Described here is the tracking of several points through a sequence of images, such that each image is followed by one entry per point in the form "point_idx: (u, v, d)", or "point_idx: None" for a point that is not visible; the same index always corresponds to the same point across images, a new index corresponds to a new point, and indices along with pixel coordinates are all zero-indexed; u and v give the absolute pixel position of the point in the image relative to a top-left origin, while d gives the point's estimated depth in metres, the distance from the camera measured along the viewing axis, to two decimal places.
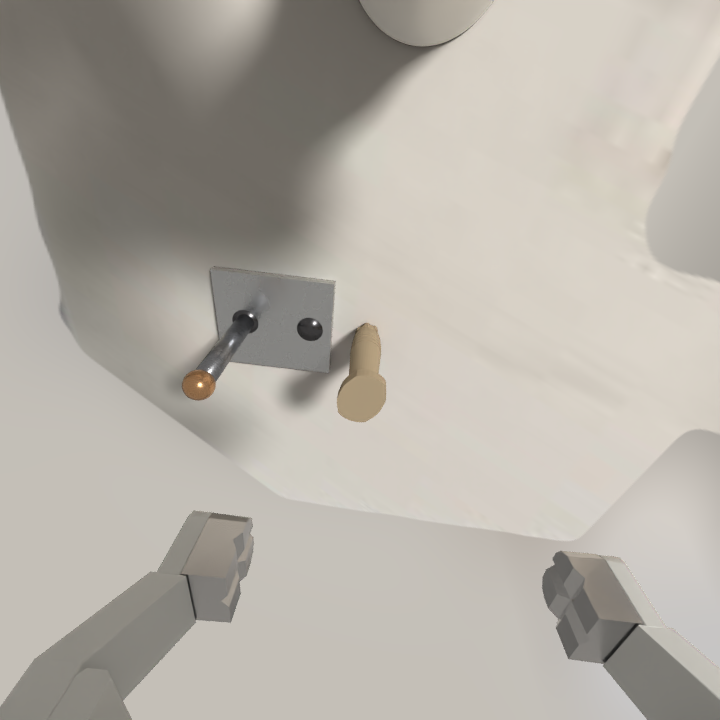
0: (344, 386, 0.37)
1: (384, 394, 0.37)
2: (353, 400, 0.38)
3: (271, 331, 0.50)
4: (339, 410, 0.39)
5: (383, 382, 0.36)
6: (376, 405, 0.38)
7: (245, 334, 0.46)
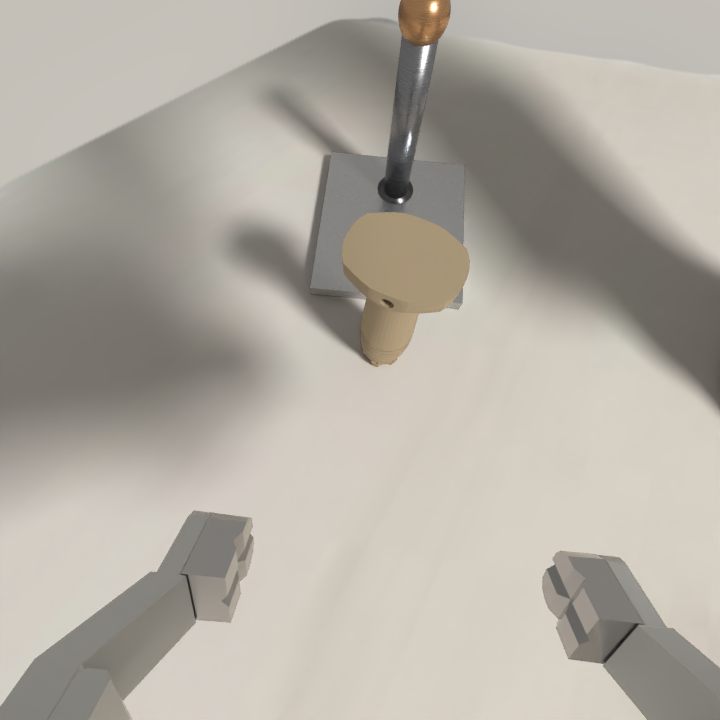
0: (436, 227, 0.18)
1: (425, 300, 0.17)
2: (401, 240, 0.18)
3: None
4: (373, 215, 0.18)
5: (451, 300, 0.17)
6: (393, 285, 0.17)
7: (400, 171, 0.32)
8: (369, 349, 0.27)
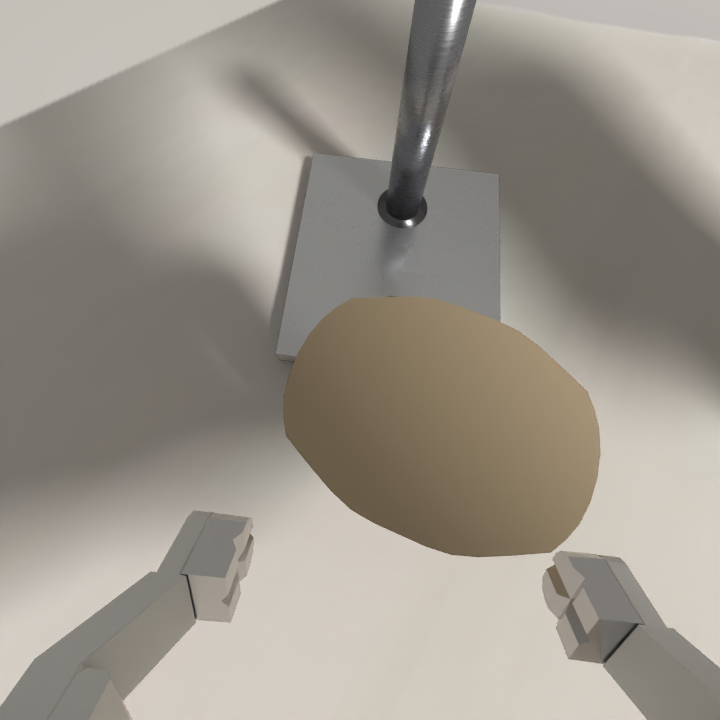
0: (513, 334, 0.08)
1: (496, 546, 0.06)
2: (429, 371, 0.07)
3: (383, 248, 0.24)
4: (362, 304, 0.08)
5: None
6: (412, 501, 0.07)
7: (410, 182, 0.22)
8: None
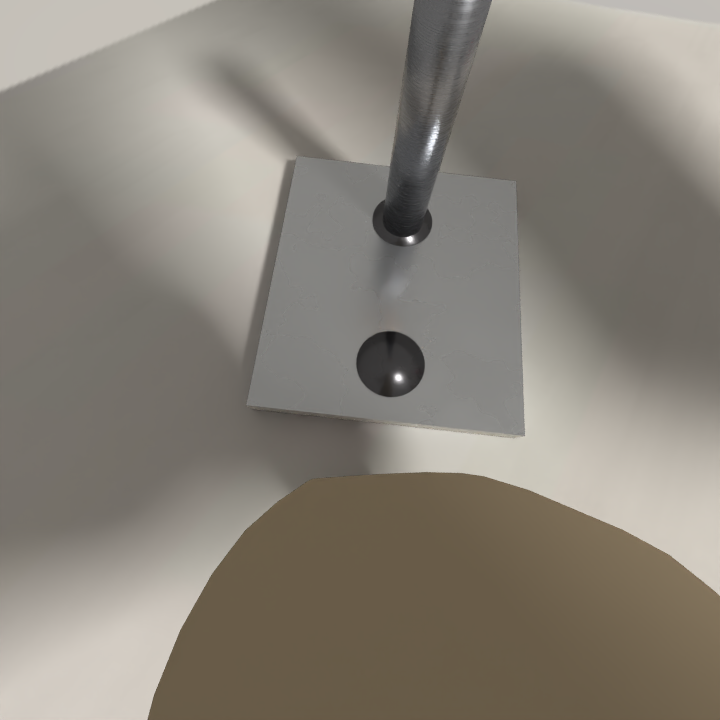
0: (657, 561, 0.04)
1: None
2: (481, 669, 0.03)
3: (379, 271, 0.20)
4: (332, 495, 0.04)
5: None
6: None
7: (413, 193, 0.18)
8: None
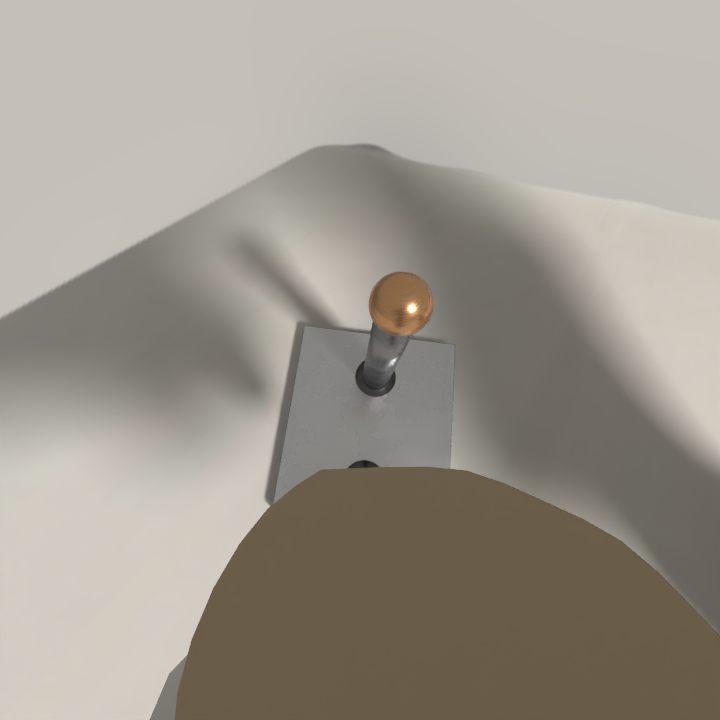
0: (610, 546, 0.04)
1: None
2: (460, 630, 0.04)
3: (359, 415, 0.30)
4: (340, 483, 0.04)
5: None
6: None
7: (378, 380, 0.28)
8: None
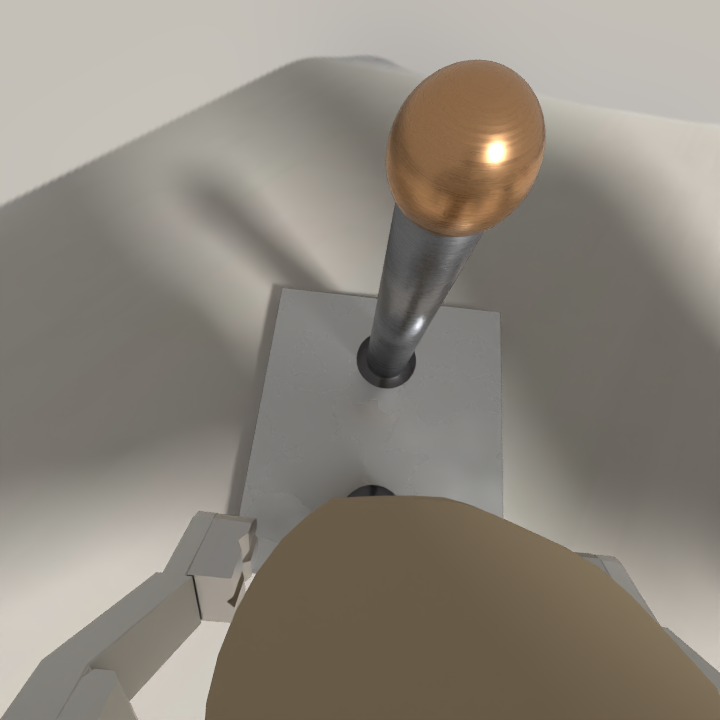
0: (589, 571, 0.05)
1: None
2: (454, 648, 0.04)
3: (363, 417, 0.20)
4: (346, 515, 0.05)
5: None
6: None
7: (393, 361, 0.18)
8: None
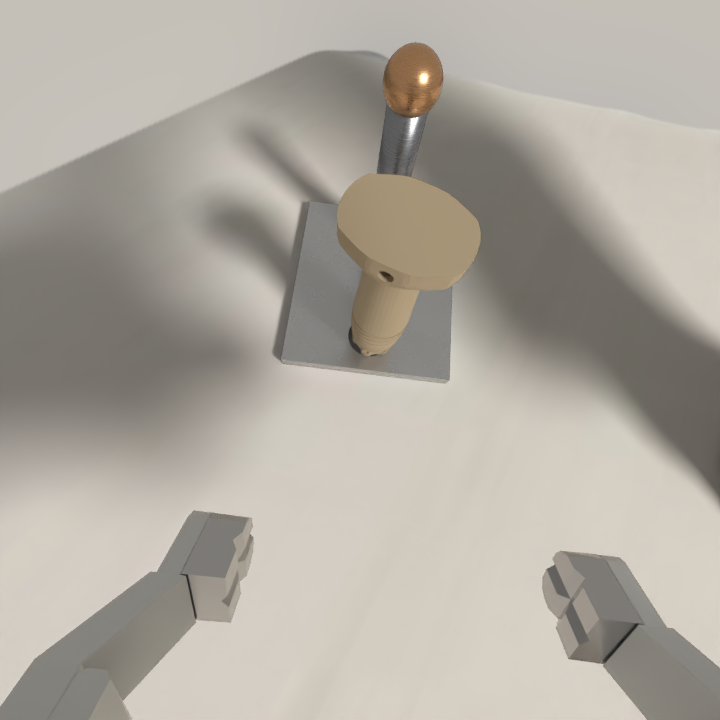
0: (445, 194, 0.16)
1: (430, 273, 0.15)
2: (405, 207, 0.16)
3: None
4: (374, 176, 0.16)
5: (459, 276, 0.15)
6: (394, 255, 0.15)
7: None
8: (360, 335, 0.25)
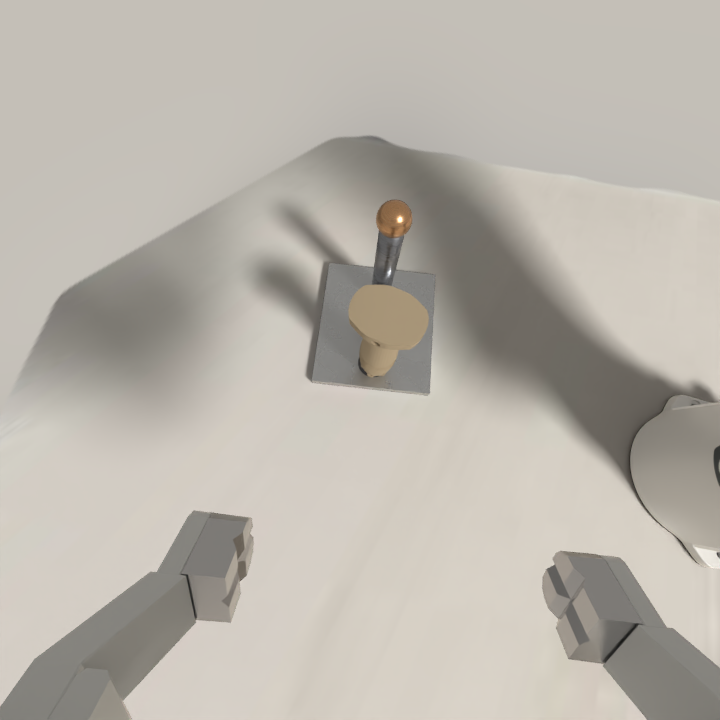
0: (409, 295, 0.29)
1: (399, 343, 0.27)
2: (386, 304, 0.28)
3: None
4: (369, 286, 0.29)
5: (416, 343, 0.28)
6: (380, 333, 0.28)
7: None
8: (365, 366, 0.37)
